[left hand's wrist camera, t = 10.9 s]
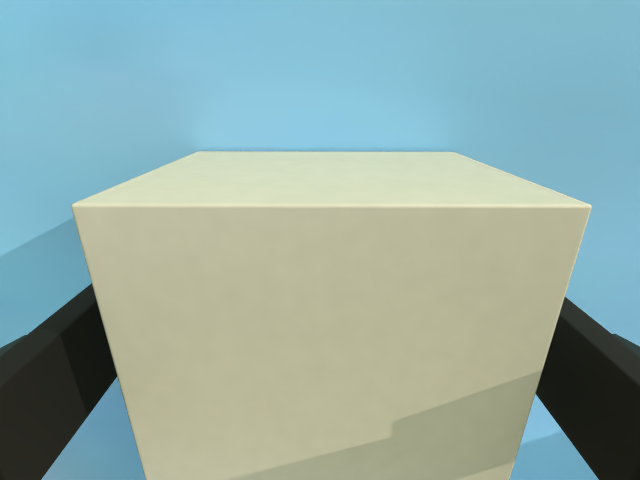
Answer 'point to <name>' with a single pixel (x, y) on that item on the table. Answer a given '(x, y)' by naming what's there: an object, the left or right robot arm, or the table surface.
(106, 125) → the table surface
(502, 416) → the thick block
